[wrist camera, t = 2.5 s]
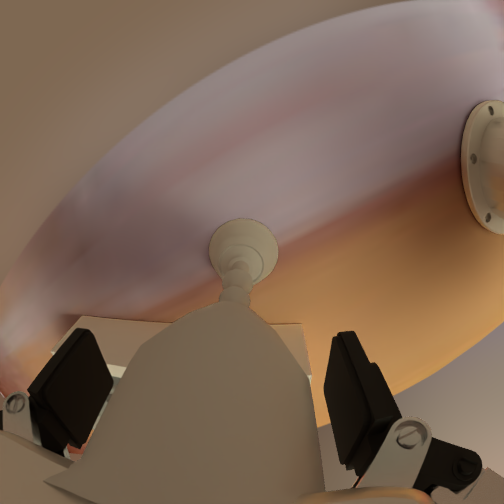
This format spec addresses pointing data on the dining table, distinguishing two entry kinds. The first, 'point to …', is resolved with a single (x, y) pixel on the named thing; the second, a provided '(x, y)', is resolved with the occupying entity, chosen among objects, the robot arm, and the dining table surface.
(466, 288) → the dining table surface
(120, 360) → the grey bracket
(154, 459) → the chalice
